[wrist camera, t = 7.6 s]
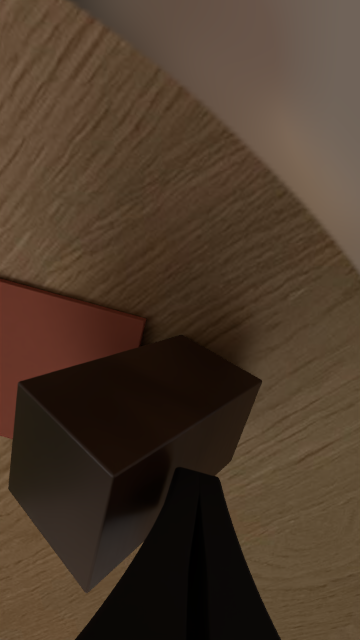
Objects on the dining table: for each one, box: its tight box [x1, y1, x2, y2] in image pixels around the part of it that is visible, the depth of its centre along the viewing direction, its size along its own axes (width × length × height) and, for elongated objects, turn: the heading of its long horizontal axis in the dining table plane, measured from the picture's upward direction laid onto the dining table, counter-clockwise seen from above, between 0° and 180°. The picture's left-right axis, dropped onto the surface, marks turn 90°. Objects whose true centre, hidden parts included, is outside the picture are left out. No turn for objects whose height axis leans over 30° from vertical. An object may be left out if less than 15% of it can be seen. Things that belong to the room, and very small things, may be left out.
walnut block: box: [8, 335, 262, 593], centre depth 13 cm, size 4×4×8 cm
